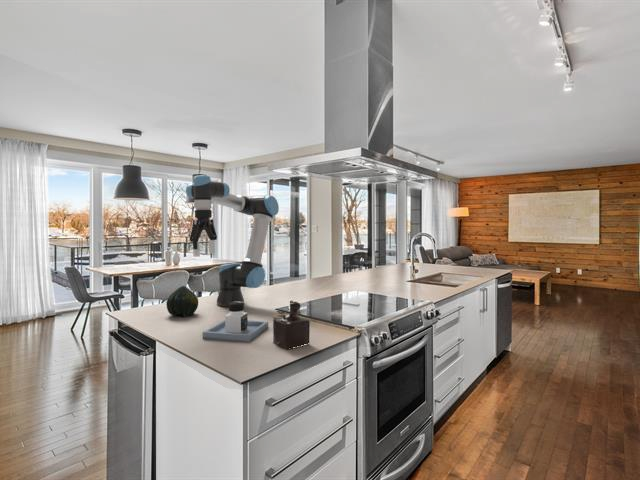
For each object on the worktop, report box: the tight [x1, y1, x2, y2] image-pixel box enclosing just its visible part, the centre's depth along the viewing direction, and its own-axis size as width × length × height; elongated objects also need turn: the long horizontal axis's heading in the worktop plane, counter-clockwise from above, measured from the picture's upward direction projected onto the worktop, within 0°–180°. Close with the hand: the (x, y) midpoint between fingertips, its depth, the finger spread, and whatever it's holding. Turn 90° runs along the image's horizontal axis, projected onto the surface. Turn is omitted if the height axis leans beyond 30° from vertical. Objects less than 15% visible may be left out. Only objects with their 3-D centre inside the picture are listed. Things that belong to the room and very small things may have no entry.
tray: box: [202, 319, 269, 343], centre depth 152 cm, size 20×20×3 cm
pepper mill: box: [272, 300, 311, 350], centre depth 136 cm, size 16×11×18 cm
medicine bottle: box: [224, 302, 249, 333], centre depth 152 cm, size 7×7×12 cm
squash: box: [165, 285, 199, 318], centre depth 183 cm, size 14×15×15 cm
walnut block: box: [273, 313, 288, 319], centre depth 162 cm, size 6×6×5 cm
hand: (204, 255), depth 170 cm, fingers open, 13 cm apart
